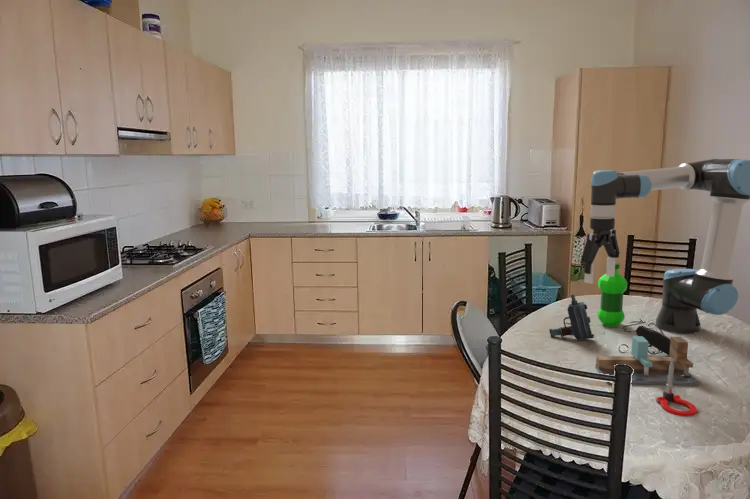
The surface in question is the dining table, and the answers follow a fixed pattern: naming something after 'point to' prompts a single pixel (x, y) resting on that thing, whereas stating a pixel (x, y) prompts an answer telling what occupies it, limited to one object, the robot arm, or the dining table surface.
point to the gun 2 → (655, 339)
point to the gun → (575, 322)
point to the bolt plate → (656, 377)
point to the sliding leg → (641, 352)
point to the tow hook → (674, 397)
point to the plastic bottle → (612, 298)
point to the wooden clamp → (653, 359)
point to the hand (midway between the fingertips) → (599, 279)
